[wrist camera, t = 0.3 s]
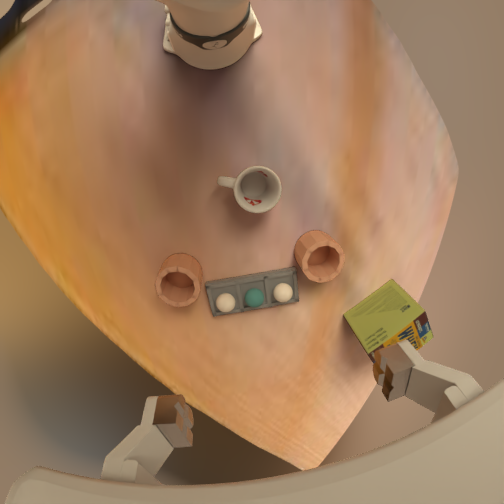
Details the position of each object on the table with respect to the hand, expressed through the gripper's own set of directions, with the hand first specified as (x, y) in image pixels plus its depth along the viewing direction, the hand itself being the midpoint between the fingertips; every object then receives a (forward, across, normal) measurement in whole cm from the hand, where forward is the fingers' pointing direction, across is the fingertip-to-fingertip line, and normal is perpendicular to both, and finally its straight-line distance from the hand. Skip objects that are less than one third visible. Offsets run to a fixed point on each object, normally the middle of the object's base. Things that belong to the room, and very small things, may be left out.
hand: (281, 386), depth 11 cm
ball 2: (+44, +1, +21) cm, 49 cm away
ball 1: (+44, +7, +21) cm, 49 cm away
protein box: (+47, -28, +35) cm, 65 cm away
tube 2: (+47, -14, +15) cm, 51 cm away
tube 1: (+47, +14, +14) cm, 51 cm away
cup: (+47, -2, -2) cm, 47 cm away
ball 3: (+44, -5, +21) cm, 49 cm away
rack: (+47, +1, +21) cm, 51 cm away
